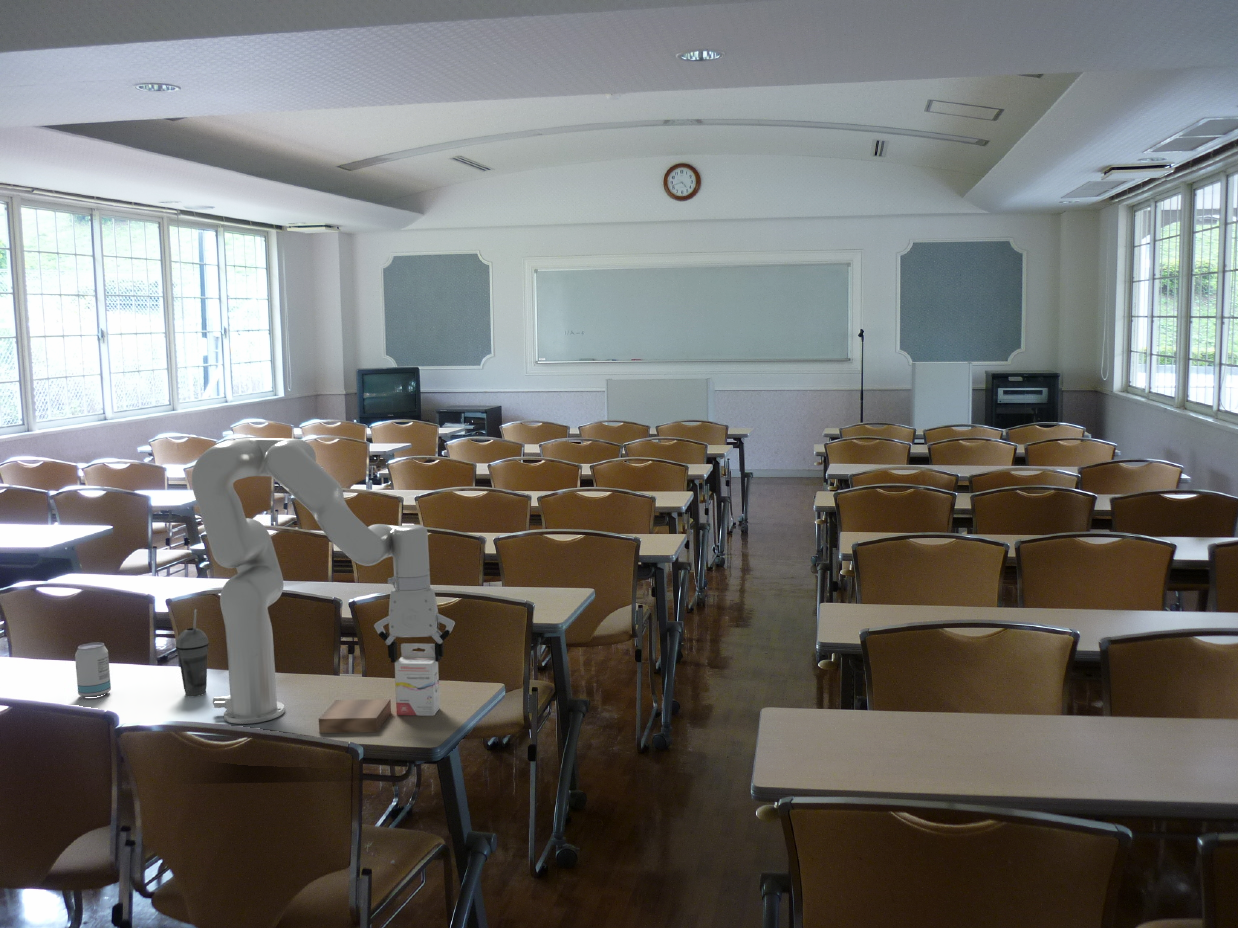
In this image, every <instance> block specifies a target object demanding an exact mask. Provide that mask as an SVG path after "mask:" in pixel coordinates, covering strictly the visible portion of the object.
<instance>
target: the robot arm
mask: <svg viewBox="0 0 1238 928" xmlns="http://www.w3.org/2000/svg"><path fill="white" fill-rule="evenodd" d="M249 477H272V479H274V480H275V481H276V482H277V483H278V484H279V485H280V486H281V487H283V488H284V490H286V492H288V493H290V495H291V496H292V497H294V498H295V499H296V501H298V502H299V503H300V504H302V506H303V507H305V508H306V510H308V511H309V512H310V513H311V514H312V516H313V519H314V520H315V521H316V523H317V524H318V526H319V527H320V528H321V530H322V532H323V533H324V535H325V536H326V537H327V538H328V540H330V542H332V543H333V544H334V545H335V546H336V547H337V548H338V549H339V550H340V551H341V552H343V554H344V555H346V556H347V557H348V558H349V560H350V559H351V561H353V562H355V563H356V564H358V565H362V566H365V567H367V566H374V565H376V564H378V563H380V562H381V561H383V560H384V559H386V558H390V557H392V563H393V576H392V577H388V578H387V584H388V585H392V586H393V589H392V590H390V596H389V604H388V605H389V607H388V616H386V617H384V618H382V619H380V620H379V621H377V622H376V623H374V624H373V628H375V631H376V632H377V634H378V636H379V638H380V639H382V640H383V641H384V642H385V644H386V645H387V653H388V654H387V655H388V656H387V657H388V659H390V664H395V662H396V661H398V644H397V641H396V638H423V637H424V638H425V637H427V638H428V637H432V639H433V640H434V641H435V643H434V644H435V661H436V662H438V663H439V662H440V661H441V659H442V658H443V657H444V655H445V652H444V641H445V640H446V639H447V638H448V637H449V635H451V632H452V631H453V628H454V626H455V624H456V622H455V621H454V620H453V619H450V618H449V617H446V616H444V615H442V614H440V613H439V610H438V604H437V603H438V602H437V598H436V593H435V590H434V589H435V588H434V587H432V586H431V572H430V571H431V570H430V556H429V555H430V554H429V552H430V551H429V536H428V530H427V528H426V527H425V526H424V525H420V524H406V525H393V524H391V525H390V524H385V523H383V524H382V523H376V524H371V525H369V526H367V525H366V524H365V523H363V521H361V519H359V518H358V517H357V516H356V515H355V514H354V512H353V511H352V510H351V508H350V507H349V506H348V504H347V502H346V500H345V497H344V490H343V488H342V485H341V484H340V482H339V481H338V480H336V479H335V478H334V477H333V476H332V475H331V474H329V473H328V472H327V471H326V470H325V469H324V468H323V467H322V466H321V465H320V464H318V463H317V455H316V451H315V449H314V448H313V446H312V445H311V444H310V443H308V442H307V441H305V440H303V439H300V438H253V437H252V438H251V437H250V438H249V437H247V438H238V439H234V440H228V441H222V442H220V443H218V444H215V445H213V446H211V447H209V448H208V449H206V450H205V451H204V452H203V453H202V454H201V455H200V456H199V457H198V459H197V460H196V461H195V464H194V466H193V469H192V472H191V487H192V492H193V495H194V498H195V501H196V504H197V506H198V509H199V513H200V516H201V520H202V524H203V527H204V531H205V535H206V537H207V540H208V544H209V548H210V551H211V554H212V557H213V559H214V560H215V562H216V563H217V564H218V565H219V566H220V567H223V568H225V569H235V568H236V571H237V574H234V575H233V576H232V577H230V578H229V579H228V580H227V581H226V582H225V584H224V585H223V587H222V589H221V592H220V598H219V604H220V605H219V606H220V609H221V613H222V618H223V622H224V628H225V641H226V650H227V651H226V652H227V653H226V654H227V664H228V678H229V679H228V680H229V681H228V684H229V695H227V696H222V695H221V696H219V695H217V696H214V697H213V698H212V704H213V706H214V707H213V708H215V709H217V708H218V709H220V708H224V709H225V711H224V713H223V718H224V720H225V722H228V723H230V724H236V725H247V724H248V725H249V724H259V723H263V722H267V721H271V720H274V719H276V718H279V717H280V716H282V715H283V714H284V713H285V711H286V706H285V704H284V703H282V702H280V701H278V698H277V681H276V679H277V678H276V667H275V666H276V664H275V663H276V662H275V651H274V649H275V648H274V647H275V646H274V636H273V634H274V633H273V627H272V622H271V621H272V620H271V618H270V613H269V609H268V608H269V607H270V606H271V605H273V604H274V603H276V602H277V601H278V600H279V598H281V596H282V593H283V590H284V578H283V573H282V569H281V566H280V563H279V560H278V556H277V554H276V550H275V546H274V542H273V540H272V537H271V535H270V532H269V531H268V530H267V527H266V526H264V524H262V523H261V522H260V521H258V520H256V519H254V518H250V517H249V518H248V517H247V516H246V515H245V511H244V507H243V504H242V501H241V499H240V496H239V495H238V494H237V492H236V490H235V487H234V484H235V482H236V481H238V480H241V479H246V478H249ZM246 517H247V518H246ZM387 624H388V631H389V633H388V632H387V631H386V630H385V628H384V626H385V625H387ZM440 624H443V625H445V626H446V627H445V630H444V631H443V632H441V631H440V630H439V628H440Z"/></svg>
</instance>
